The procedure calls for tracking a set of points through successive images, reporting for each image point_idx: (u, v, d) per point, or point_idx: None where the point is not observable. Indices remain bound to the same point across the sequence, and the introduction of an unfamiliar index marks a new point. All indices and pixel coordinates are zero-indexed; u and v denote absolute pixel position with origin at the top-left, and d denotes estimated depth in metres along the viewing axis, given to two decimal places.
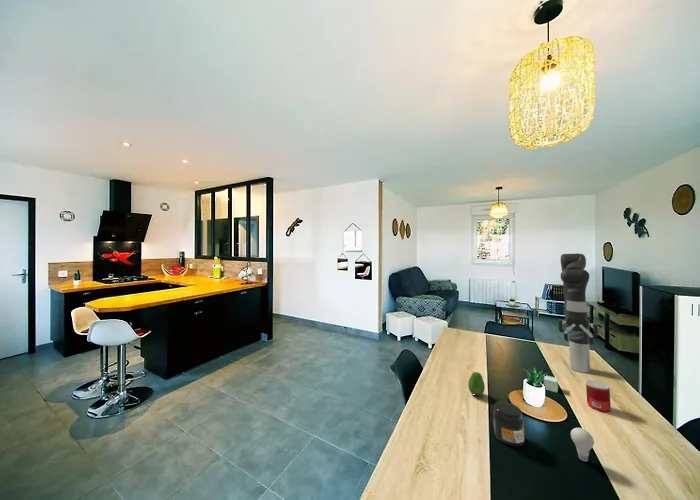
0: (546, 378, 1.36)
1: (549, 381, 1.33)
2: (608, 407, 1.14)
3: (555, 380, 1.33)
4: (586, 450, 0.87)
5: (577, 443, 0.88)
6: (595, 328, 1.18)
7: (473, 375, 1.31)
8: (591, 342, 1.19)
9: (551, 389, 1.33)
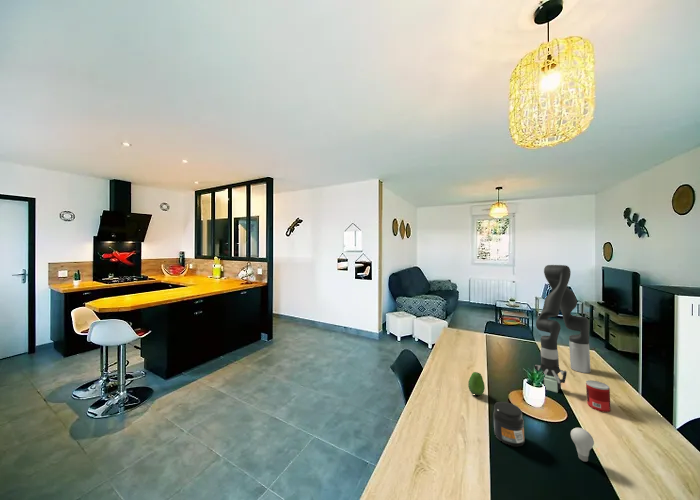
0: (546, 378, 1.36)
1: (549, 381, 1.33)
2: (608, 407, 1.14)
3: (555, 380, 1.33)
4: (586, 450, 0.87)
5: (577, 443, 0.88)
6: (564, 376, 1.30)
7: (473, 375, 1.31)
8: (559, 387, 1.32)
9: (551, 389, 1.33)
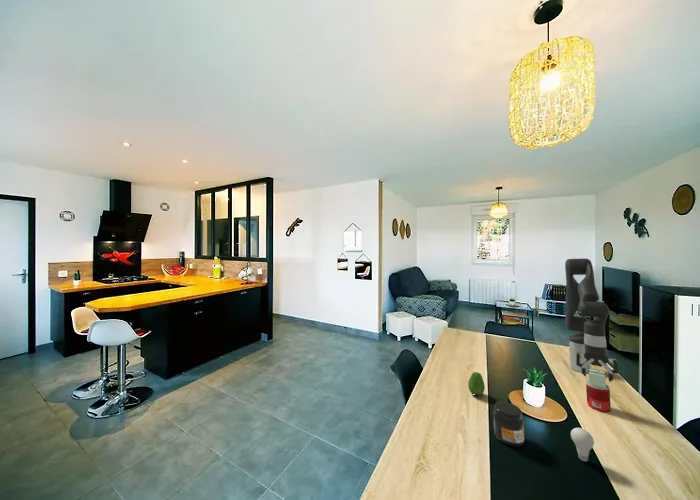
0: (591, 372, 1.19)
1: (595, 375, 1.16)
2: (608, 407, 1.14)
3: (602, 374, 1.16)
4: (586, 450, 0.87)
5: (577, 443, 0.88)
6: (615, 364, 1.13)
7: (473, 375, 1.31)
8: (611, 379, 1.14)
9: (598, 384, 1.16)
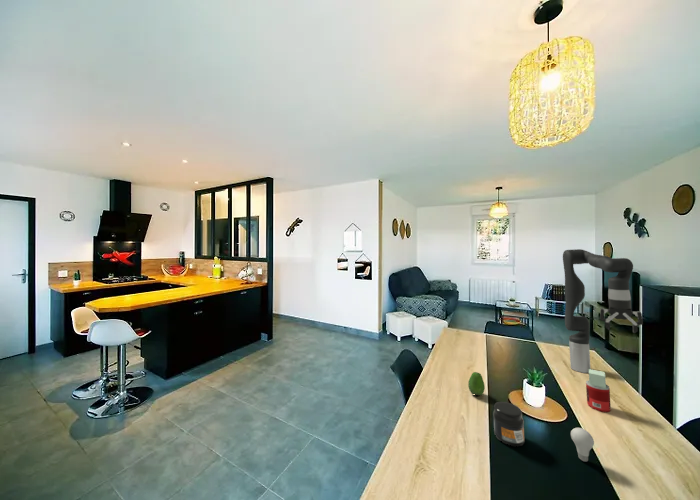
0: (591, 372, 1.19)
1: (595, 375, 1.16)
2: (608, 407, 1.14)
3: (602, 374, 1.16)
4: (586, 450, 0.87)
5: (577, 443, 0.88)
6: (640, 316, 1.18)
7: (473, 375, 1.31)
8: (635, 330, 1.19)
9: (598, 384, 1.16)
